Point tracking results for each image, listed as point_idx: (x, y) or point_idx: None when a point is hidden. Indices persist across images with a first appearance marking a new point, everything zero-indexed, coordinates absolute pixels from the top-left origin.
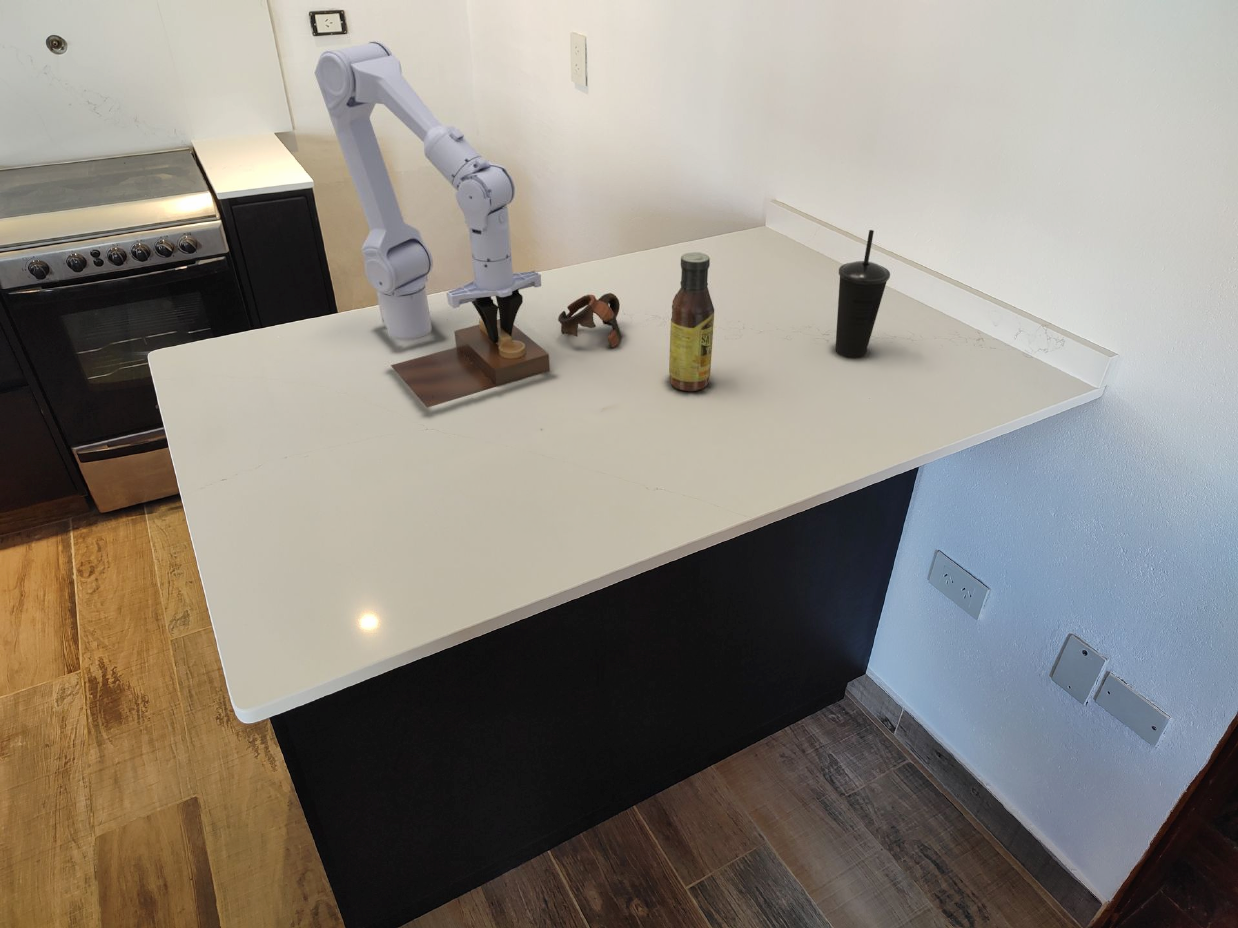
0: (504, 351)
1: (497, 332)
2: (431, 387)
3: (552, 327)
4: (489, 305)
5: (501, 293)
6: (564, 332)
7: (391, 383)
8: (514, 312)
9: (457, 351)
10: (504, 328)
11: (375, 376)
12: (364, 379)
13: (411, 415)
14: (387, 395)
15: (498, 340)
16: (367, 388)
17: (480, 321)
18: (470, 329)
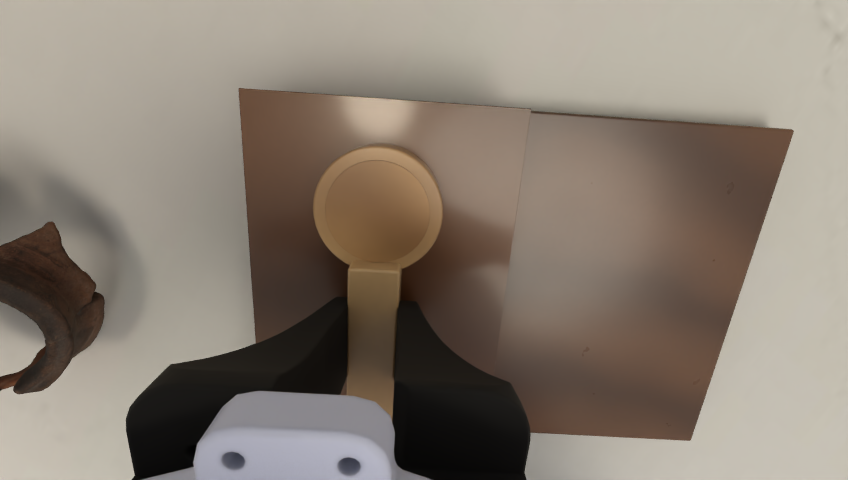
0: (434, 186)
1: (401, 316)
2: (691, 247)
3: (123, 394)
4: (454, 427)
5: (366, 438)
6: (90, 285)
7: (718, 369)
8: (268, 349)
9: None
10: (343, 344)
11: (724, 426)
12: (756, 428)
13: (807, 160)
14: (772, 315)
15: (399, 301)
16: (784, 382)
17: None
18: None
